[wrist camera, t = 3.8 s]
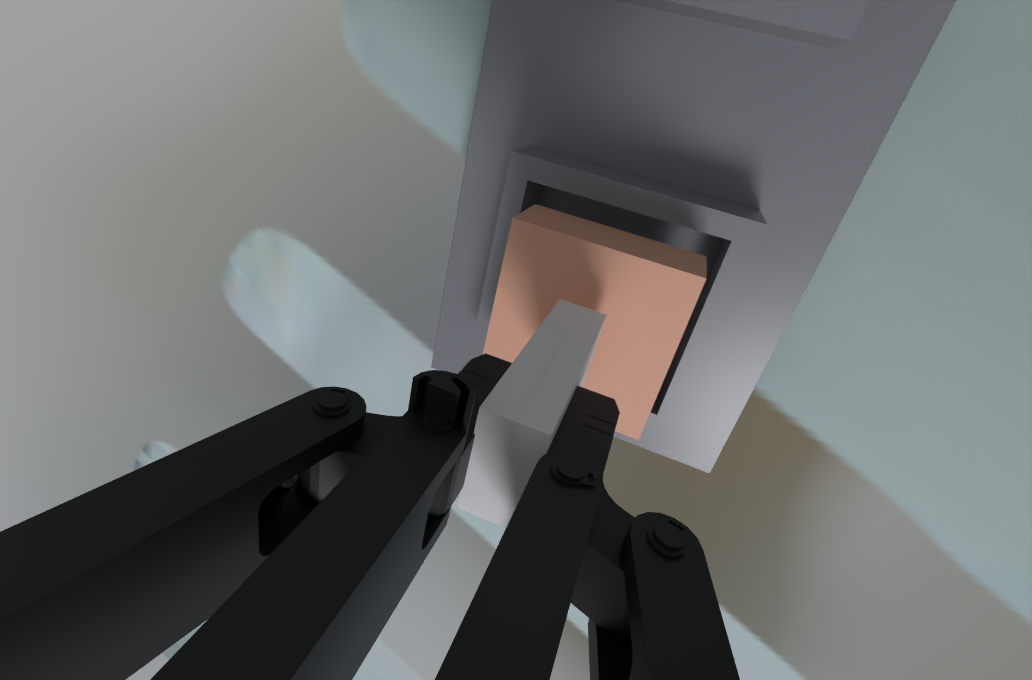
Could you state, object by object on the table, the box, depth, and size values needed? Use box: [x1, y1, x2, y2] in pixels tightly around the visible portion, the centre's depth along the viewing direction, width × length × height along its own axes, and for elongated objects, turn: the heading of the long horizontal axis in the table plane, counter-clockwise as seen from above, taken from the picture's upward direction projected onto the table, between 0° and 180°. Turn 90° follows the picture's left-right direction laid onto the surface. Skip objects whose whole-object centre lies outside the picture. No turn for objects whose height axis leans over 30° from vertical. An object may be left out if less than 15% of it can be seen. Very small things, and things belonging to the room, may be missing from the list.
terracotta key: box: [482, 204, 707, 440], centre depth 18 cm, size 6×6×2 cm
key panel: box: [431, 0, 956, 473], centre depth 18 cm, size 28×14×4 cm, turn 167°
